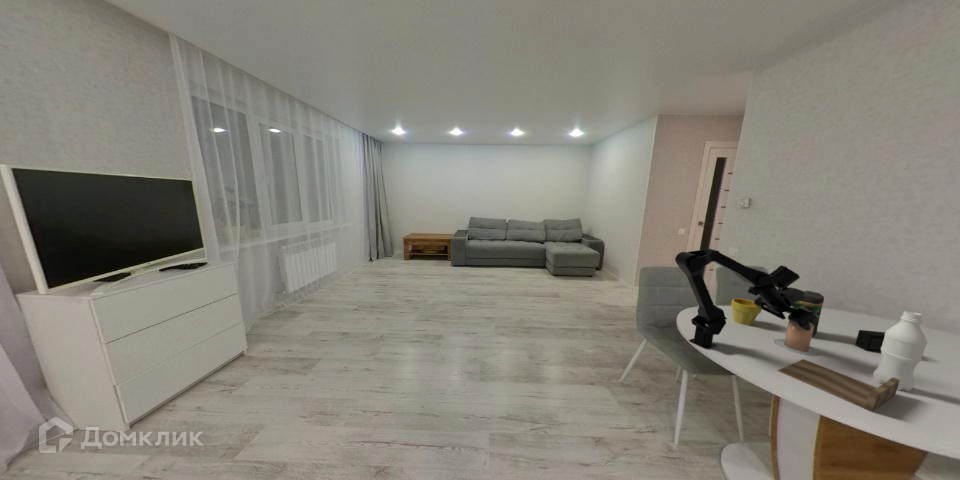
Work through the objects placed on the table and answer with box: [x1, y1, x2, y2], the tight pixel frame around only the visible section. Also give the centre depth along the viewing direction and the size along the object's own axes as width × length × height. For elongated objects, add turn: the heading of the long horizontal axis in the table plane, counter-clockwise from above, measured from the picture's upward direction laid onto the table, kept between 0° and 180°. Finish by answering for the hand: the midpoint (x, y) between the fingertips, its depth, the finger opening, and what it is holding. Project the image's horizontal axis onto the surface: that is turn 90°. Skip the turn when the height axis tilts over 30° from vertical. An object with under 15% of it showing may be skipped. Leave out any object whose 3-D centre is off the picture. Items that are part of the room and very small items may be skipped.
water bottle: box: [872, 310, 928, 392], centre depth 86 cm, size 7×7×25 cm
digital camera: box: [854, 329, 886, 354], centre depth 108 cm, size 10×5×7 cm, turn 76°
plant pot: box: [730, 298, 763, 326], centre depth 131 cm, size 10×10×10 cm
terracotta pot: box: [784, 320, 814, 352], centre depth 108 cm, size 6×6×10 cm
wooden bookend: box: [777, 358, 900, 413], centre depth 88 cm, size 18×19×6 cm
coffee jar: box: [791, 290, 825, 337], centre depth 121 cm, size 10×8×19 cm
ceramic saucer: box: [773, 338, 821, 357], centre depth 109 cm, size 12×12×1 cm
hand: (796, 324), depth 107 cm, fingers open, 9 cm apart
